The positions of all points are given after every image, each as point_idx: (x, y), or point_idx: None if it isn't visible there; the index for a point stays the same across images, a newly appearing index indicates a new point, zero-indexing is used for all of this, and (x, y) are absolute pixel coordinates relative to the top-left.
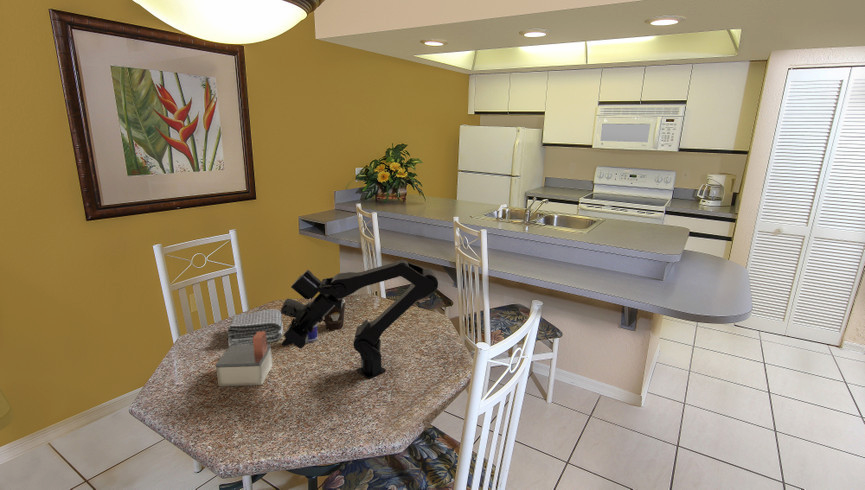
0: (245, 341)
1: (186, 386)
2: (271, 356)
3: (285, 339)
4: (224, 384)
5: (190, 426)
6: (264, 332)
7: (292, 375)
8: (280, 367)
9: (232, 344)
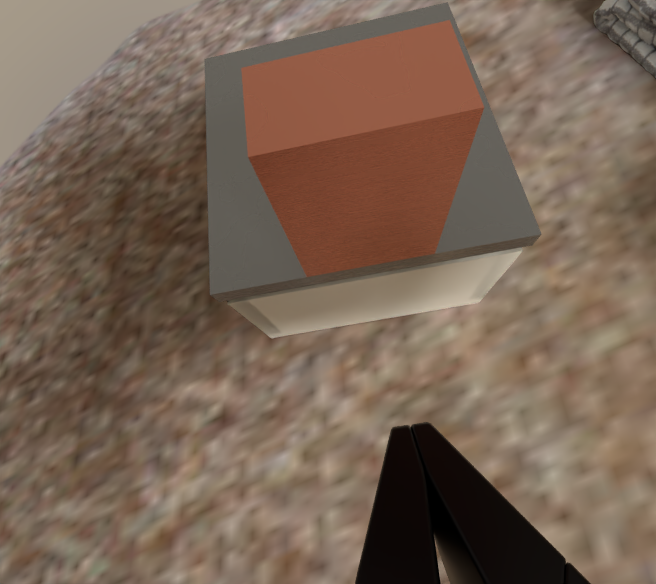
0: None
1: None
2: (493, 280)
3: (367, 530)
4: None
5: (12, 214)
6: (441, 109)
7: None
8: (466, 360)
9: (613, 12)
